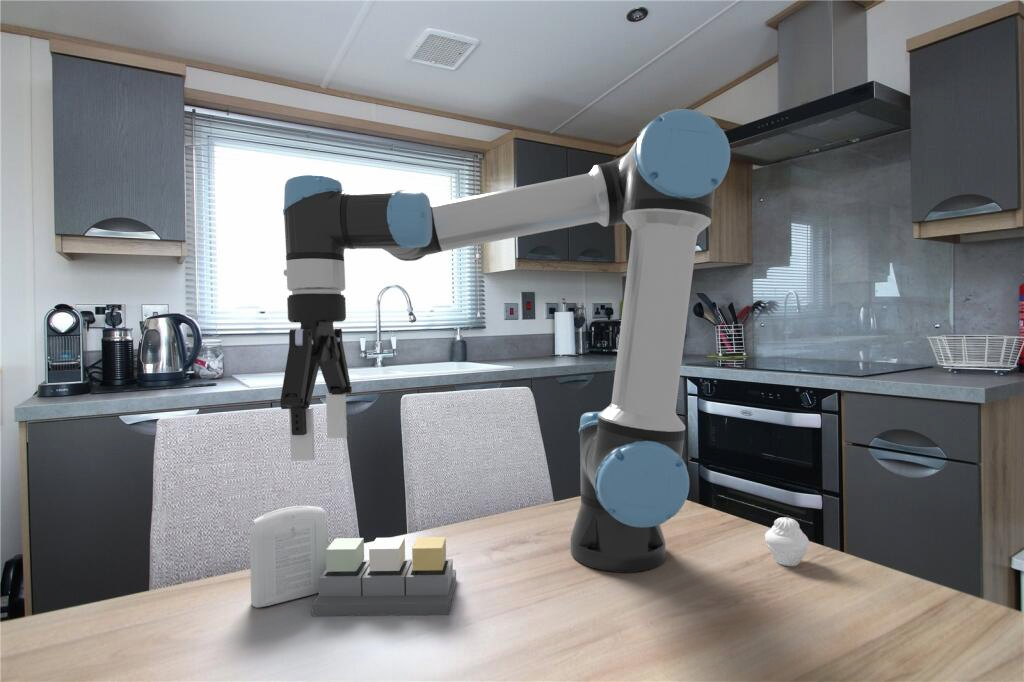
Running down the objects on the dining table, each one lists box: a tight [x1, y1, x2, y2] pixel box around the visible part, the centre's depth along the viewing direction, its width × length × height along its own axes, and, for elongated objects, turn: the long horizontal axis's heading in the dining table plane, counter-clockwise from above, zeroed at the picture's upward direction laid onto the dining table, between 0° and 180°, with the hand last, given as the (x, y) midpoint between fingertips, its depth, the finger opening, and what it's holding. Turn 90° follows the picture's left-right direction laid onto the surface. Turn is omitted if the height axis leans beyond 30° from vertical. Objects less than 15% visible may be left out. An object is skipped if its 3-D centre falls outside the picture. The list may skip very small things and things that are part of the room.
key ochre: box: [411, 536, 447, 571], centre depth 79 cm, size 4×4×3 cm
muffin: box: [764, 516, 810, 567], centre depth 88 cm, size 6×6×7 cm
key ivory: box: [368, 536, 406, 571], centre depth 79 cm, size 4×4×3 cm
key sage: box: [326, 537, 365, 572], centre depth 79 cm, size 4×4×3 cm
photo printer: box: [249, 505, 329, 608], centre depth 80 cm, size 10×4×12 cm, turn 123°
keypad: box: [311, 558, 457, 617], centre depth 79 cm, size 18×10×4 cm, turn 89°
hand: (321, 448), depth 79 cm, fingers open, 13 cm apart
